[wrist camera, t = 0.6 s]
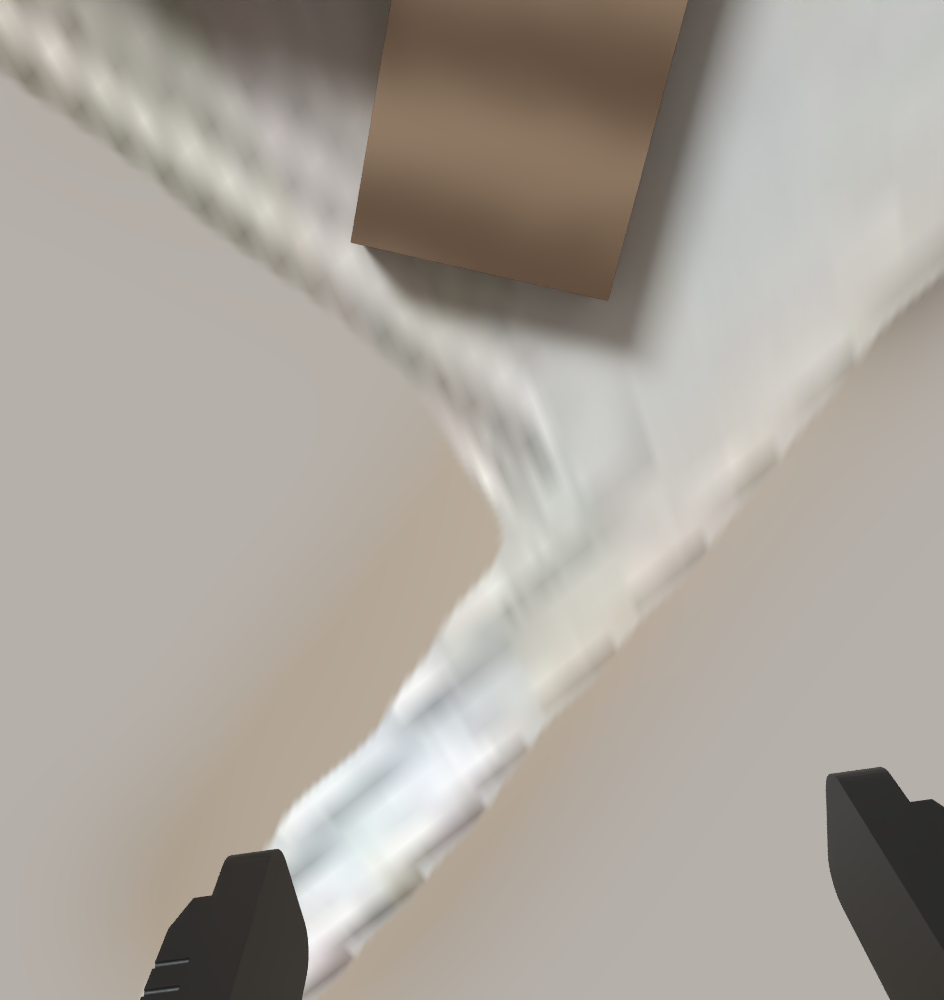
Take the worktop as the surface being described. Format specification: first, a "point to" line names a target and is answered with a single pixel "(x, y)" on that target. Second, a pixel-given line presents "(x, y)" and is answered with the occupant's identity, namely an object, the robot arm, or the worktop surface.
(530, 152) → the walnut stand
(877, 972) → the robot arm
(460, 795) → the worktop surface
